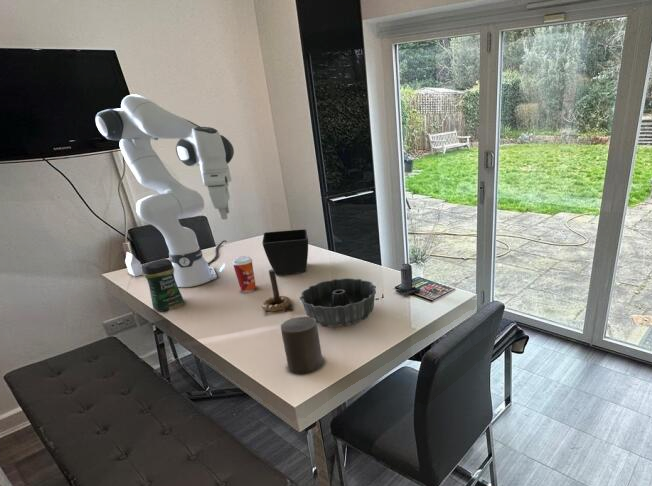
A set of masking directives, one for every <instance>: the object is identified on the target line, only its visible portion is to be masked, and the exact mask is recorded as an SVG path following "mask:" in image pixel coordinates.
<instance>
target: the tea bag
mask: <svg viewBox="0 0 652 486" xmlns="http://www.w3.org/2000/svg"><path fill="white" fill-rule="evenodd" d="M124 263H125V265H126V269H127V271H128V274H129V275H131V276H133V277H138V276H142V275H143V272H142V263H141V261H140V260H138V258H137V257H136V256H135V255H134V254H133V253H131V252H129V251H126V255H125V259H124Z"/></svg>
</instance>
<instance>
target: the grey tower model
mask: <svg viewBox="0 0 652 486" xmlns="http://www.w3.org/2000/svg"><path fill="white" fill-rule="evenodd" d="M412 268H413V267H412V265H411V264H410V263H403V264H401V266H400V278H401V280H400V282H401V283H400V284H401V288H398V289H395V292H396V293H397V294H399V295H401V296H403V297H407V296H409V295H411V294H412V295H414V294H417V293H420V291H421V288H417V287H416V286H413V269H412Z"/></svg>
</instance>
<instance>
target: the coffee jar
mask: <svg viewBox="0 0 652 486" xmlns="http://www.w3.org/2000/svg"><path fill="white" fill-rule="evenodd" d="M141 267H142V272H143V274H142V275H143V277H144V278H145V279H146V280H147V284H148V287H149V293H150V300H151V304H152V307H153V309H154V310H156V311H161V312H163V311H168V310H170V308H171V307H175V306H178V305H179V304H182V303H183V302H184V299H183V296H182V294H181V290H180V288H179V287H178V286H177V284H176V281H175V278H174V267H173V265H172V262H171V260H170V259H169V258H165V257H164V258H160V259H156V260H153V261H150V262H145V263H141Z"/></svg>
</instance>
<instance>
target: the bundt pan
mask: <svg viewBox="0 0 652 486" xmlns="http://www.w3.org/2000/svg"><path fill="white" fill-rule="evenodd" d="M376 294H377V286H376V285H374V284H373V282H372V281H369V280H363V279H362V278H353V277H352V278H351V277H346V278H333V279H331V280H324V281H320V282H318V283H315V285H310V286H308V288H306V289H304V290H303V291H302V292H301V295H300V296H299V300H300V301H301V303H302V306H303V308H304V312H305V314H306V316H307V317H311V318H315V319H316V323H317V325H320V326H321V327H331V328H338V327H340V326H343V327H347V326H348V325H349V324H351V325H353V324H354V325H355V324H357V323H359V322H360V321H363V320H364V321H365V320H366V319H367V318H368V317H369V315H370V314H371V313H372V312H373V311H374V308H375V296H376Z"/></svg>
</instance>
